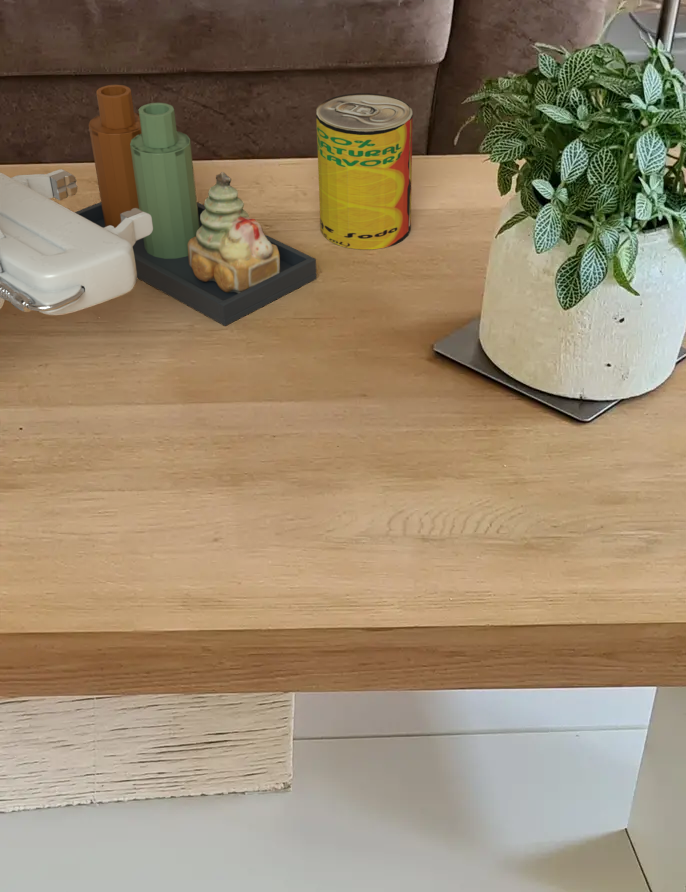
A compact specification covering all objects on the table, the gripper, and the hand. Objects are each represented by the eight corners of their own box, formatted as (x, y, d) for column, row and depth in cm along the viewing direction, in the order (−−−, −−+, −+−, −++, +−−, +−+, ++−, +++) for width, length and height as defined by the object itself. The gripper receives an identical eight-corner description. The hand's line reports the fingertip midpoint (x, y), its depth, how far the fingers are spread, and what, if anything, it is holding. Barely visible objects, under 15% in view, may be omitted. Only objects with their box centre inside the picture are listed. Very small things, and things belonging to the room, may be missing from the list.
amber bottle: (95, 230, 114) (71, 90, 105) (138, 212, 117) (119, 75, 108) (129, 248, 111) (107, 106, 103) (172, 229, 114) (154, 90, 106)
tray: (63, 237, 112) (59, 217, 111) (155, 199, 119) (153, 180, 118) (225, 326, 101) (222, 305, 100) (316, 278, 108) (316, 258, 107)
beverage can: (392, 256, 112) (393, 137, 104) (305, 239, 114) (300, 122, 106) (422, 215, 118) (425, 101, 111) (340, 200, 120) (337, 87, 113)
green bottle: (134, 251, 111) (113, 109, 102) (177, 232, 114) (160, 93, 105) (170, 270, 108) (151, 126, 100) (212, 250, 111) (198, 109, 103)
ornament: (291, 277, 107) (286, 176, 101) (247, 305, 103) (239, 201, 97) (226, 251, 110) (216, 152, 104) (180, 278, 106) (168, 176, 100)
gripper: (26, 276, 76) (191, 206, 84) (-138, 177, 86) (25, 123, 94) (43, 356, 80) (199, 282, 88) (-116, 253, 90) (38, 195, 98)
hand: (108, 199), depth 91 cm, fingers open, 8 cm apart
